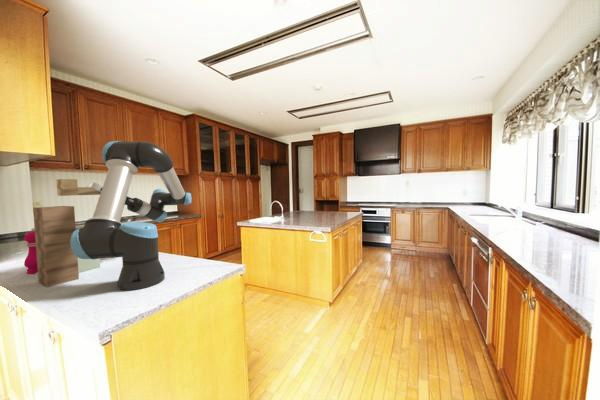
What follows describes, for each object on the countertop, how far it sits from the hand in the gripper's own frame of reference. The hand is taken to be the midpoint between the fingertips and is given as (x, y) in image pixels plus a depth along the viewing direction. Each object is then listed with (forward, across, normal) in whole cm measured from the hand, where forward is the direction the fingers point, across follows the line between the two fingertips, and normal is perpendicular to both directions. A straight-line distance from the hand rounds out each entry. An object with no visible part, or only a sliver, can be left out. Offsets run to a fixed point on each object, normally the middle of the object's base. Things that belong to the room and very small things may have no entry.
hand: (90, 185), depth 108 cm
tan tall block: (-1, 0, -5) cm, 5 cm away
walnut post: (-7, -8, -41) cm, 42 cm away
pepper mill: (-7, +17, -41) cm, 45 cm away
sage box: (-15, 0, -36) cm, 39 cm away
